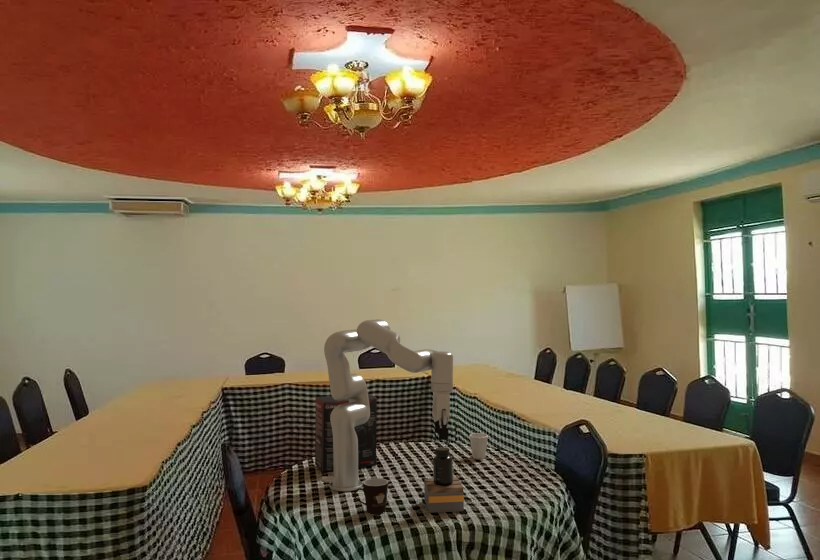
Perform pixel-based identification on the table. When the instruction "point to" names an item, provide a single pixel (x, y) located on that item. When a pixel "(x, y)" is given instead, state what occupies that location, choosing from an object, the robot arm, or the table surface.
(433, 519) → the table surface
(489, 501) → the table surface
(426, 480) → the pallet
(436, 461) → the supplement bottle
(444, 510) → the dock
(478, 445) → the dixie cup
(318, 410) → the headset box
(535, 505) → the table surface
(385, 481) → the coffee mug
